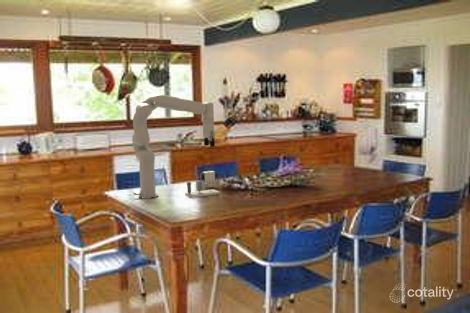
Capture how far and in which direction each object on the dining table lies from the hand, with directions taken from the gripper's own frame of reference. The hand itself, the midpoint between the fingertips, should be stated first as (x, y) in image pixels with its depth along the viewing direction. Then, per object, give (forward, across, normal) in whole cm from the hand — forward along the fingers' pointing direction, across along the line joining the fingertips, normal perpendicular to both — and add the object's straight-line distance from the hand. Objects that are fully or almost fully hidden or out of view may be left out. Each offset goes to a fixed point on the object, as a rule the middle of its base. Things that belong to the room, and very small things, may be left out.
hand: (209, 146), depth 337 cm
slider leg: (+28, +12, -14) cm, 34 cm away
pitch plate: (+30, +12, -12) cm, 34 cm away
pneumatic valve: (+30, -9, +2) cm, 32 cm away
